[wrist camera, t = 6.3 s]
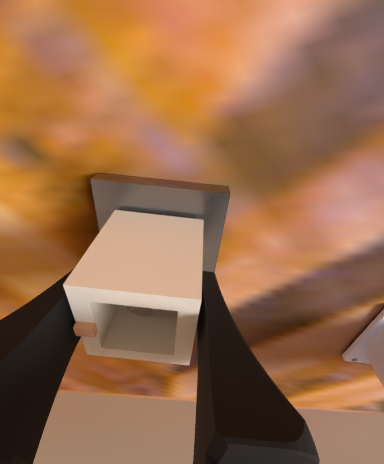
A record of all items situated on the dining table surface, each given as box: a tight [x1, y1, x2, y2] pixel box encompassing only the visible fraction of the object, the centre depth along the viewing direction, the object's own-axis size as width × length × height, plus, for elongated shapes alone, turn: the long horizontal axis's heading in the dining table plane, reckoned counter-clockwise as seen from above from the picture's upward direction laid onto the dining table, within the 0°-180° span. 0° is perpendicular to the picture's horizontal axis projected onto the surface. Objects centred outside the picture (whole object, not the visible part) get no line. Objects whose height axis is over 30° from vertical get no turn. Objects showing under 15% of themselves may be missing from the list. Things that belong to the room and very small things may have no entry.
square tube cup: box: [63, 210, 204, 365], centre depth 12 cm, size 5×5×6 cm
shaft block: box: [90, 173, 230, 316], centre depth 13 cm, size 8×8×6 cm
